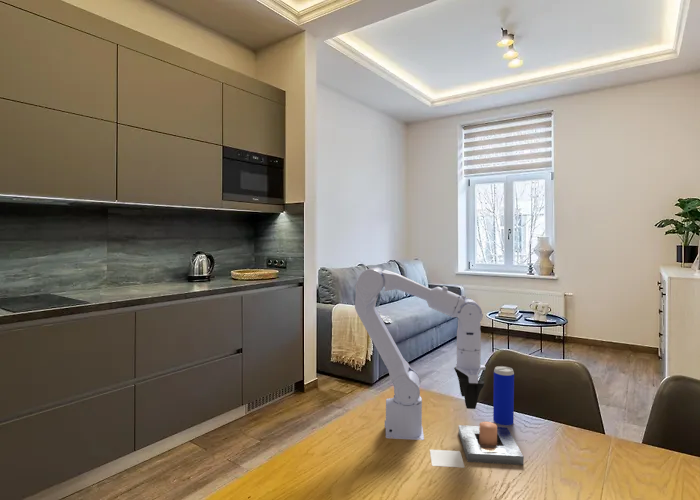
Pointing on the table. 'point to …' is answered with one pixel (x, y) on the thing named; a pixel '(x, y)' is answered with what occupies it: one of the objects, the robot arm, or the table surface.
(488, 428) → the peg
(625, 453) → the table surface
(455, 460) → the tile
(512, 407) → the beverage can
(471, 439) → the hole plate
